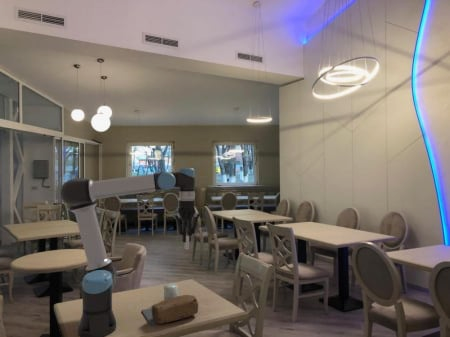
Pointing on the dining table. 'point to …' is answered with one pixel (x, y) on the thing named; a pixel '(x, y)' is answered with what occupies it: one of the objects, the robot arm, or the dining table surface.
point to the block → (175, 308)
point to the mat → (149, 316)
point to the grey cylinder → (170, 291)
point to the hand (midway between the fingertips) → (186, 248)
